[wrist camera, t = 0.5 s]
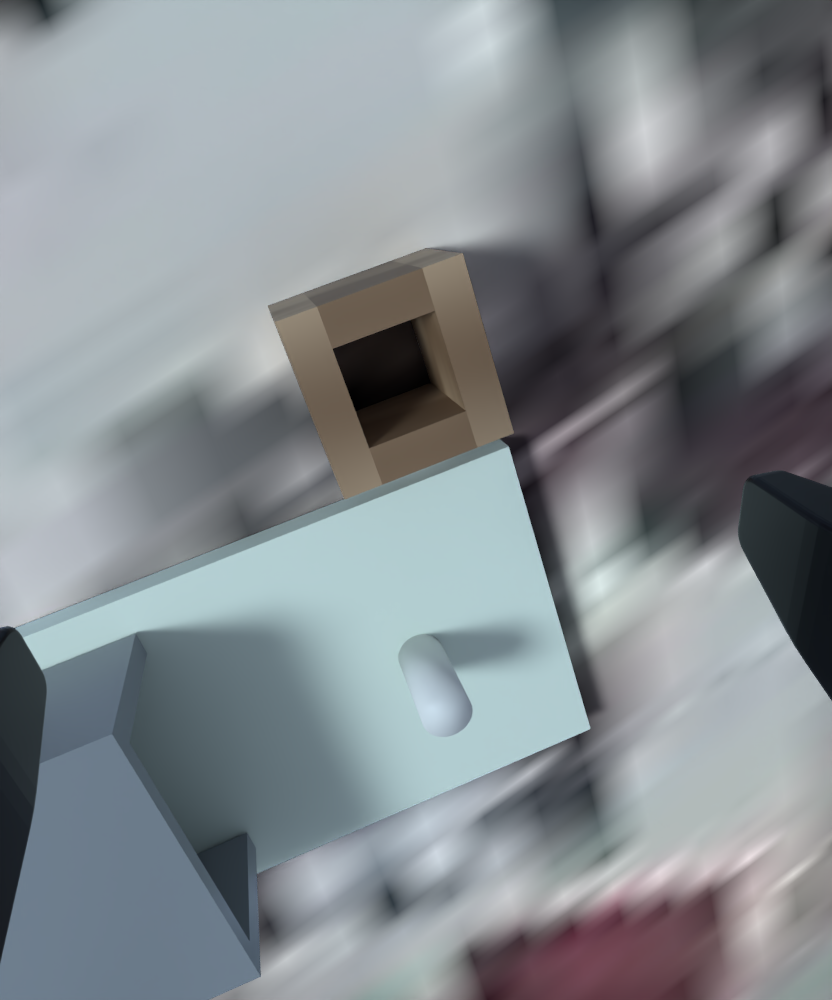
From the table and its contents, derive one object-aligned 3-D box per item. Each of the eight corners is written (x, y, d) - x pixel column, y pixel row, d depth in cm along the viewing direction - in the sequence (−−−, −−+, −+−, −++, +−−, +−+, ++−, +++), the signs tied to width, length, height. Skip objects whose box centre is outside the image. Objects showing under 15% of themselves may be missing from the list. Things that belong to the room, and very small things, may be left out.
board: (579, 713, 30) (634, 791, 26) (35, 948, 28) (2, 1072, 24) (498, 438, 25) (550, 480, 21) (-160, 696, 23) (-244, 797, 19)
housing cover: (255, 847, 27) (260, 976, 23) (11, 953, 27) (-36, 1109, 22) (135, 633, 24) (112, 734, 19) (-153, 748, 23) (-253, 883, 18)
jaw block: (472, 402, 25) (514, 433, 21) (327, 458, 24) (344, 499, 21) (425, 248, 23) (462, 253, 19) (267, 306, 22) (275, 321, 19)
